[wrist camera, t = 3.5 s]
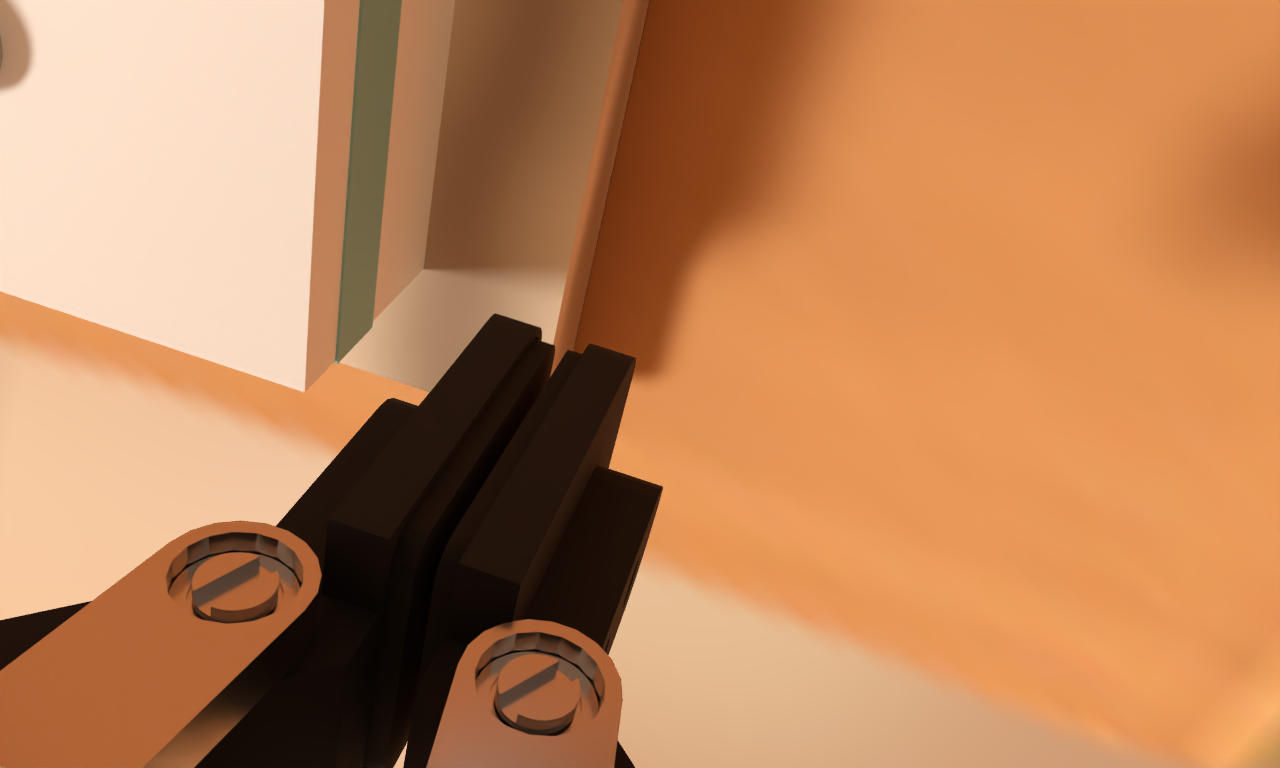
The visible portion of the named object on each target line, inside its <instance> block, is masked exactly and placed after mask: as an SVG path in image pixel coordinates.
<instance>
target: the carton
mask: <svg viewBox="0 0 1280 768" xmlns="http://www.w3.org/2000/svg"><path fill="white" fill-rule="evenodd" d="M454 5H455V0H0V291H1V292H4V293H7V294H10V295H13V296H16V297H19V298H22V299H25V300H28V301H31V302H34V303H37V304H40V305H43V306H46V307H49V308H52V309H55V310H58V311H61V312H64V313H67V314H70V315H73V316H76V317H79V318H82V319H85V320H88V321H91V322H94V323H97V324H100V325H103V326H106V327H109V328H112V329H115V330H118V331H121V332H124V333H127V334H130V335H133V336H136V337H139V338H142V339H145V340H148V341H151V342H154V343H157V344H160V345H163V346H166V347H169V348H173V349H176V350H179V351H182V352H185V353H188V354H191V355H194V356H197V357H200V358H203V359H206V360H209V361H212V362H215V363H218V364H221V365H224V366H227V367H230V368H233V369H236V370H239V371H242V372H245V373H248V374H251V375H254V376H257V377H260V378H263V379H266V380H269V381H272V382H275V383H278V384H281V385H284V386H287V387H290V388H293V389H296V390H299V391H302V392H305V391H306V390H307V389H308V388H309V387H310V386H311V385H312V384H313V383H314V382H315V381H316V380H317V379H318V378H319V377H320V376H321V375H322V374H323V373H324V372H325V371H326V370H327V369H328V368H329V366H330V365H331V364H332V363H333V362H334V363H337V364H338V363H339V362H340V361H341V360H342V359H343V358H344V357H345V356H346V354H347V353H348V352H349V351H350V350H351V349H352V348H353V347H354V346H355V345H356V344H357V343H358V342H359V341H360V340H361V339H362V338H363V337H364V336H365V335H366V334H367V333H368V331H369V330H370V329H371V328H372V326H373V321H374V320H375V319H376V318H377V317H378V316H379V315H380V314H381V313H382V312H383V311H384V310H385V308H386V307H387V306H388V305H389V304H390V303H391V302H392V301H393V300H394V299H395V298H396V297H397V296H398V295H399V294H400V293H401V292H402V291H403V290H404V289H405V288H406V287H407V286H408V285H409V284H410V283H411V282H412V280H413V279H414V278H415V277H416V276H417V275H418V274H419V273H420V272H421V271H422V270H423V269H424V260H425V252H426V243H427V235H428V226H429V218H430V209H431V201H432V192H433V184H434V175H435V167H436V158H437V150H438V141H439V133H440V124H441V116H442V107H443V99H444V90H445V82H446V73H447V65H448V56H449V48H450V39H451V31H452V22H453V14H454Z"/></svg>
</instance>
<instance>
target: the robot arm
mask: <svg viewBox="0 0 1280 768" xmlns="http://www.w3.org/2000/svg"><path fill="white" fill-rule="evenodd" d="M541 340H542V329H541V328H540V327H537V326H534V325H531V324H528V323H525V322H522V321H518V320H515V319H512V318H509V317H506V316H503V315H500V314H493V315H492V316H491V317H490V318H489V319H488V321H487V322H486V323H485V324H484V326H483V327H482V328H481V329H480V331H479V332H478V333H477V334H476V336H475V337H474V338H473V339H472V341H471V342H470V343H469V344H468V346H467V347H466V348H465V349H464V351H463V352H462V353H461V354H460V355H459V357H458V358H457V359H456V360H455V362H454V363H453V364H452V365H451V367H450V368H449V369H448V370H447V372H446V373H445V374H444V375H443V377H442V378H441V379H440V380H439V382H438V383H437V384H436V385H435V387H434V388H433V389H432V390H431V392H430V393H429V394H428V395H427V396H426V398H425V399H424V400H423V401H422V403H421V404H420V405H419V406H416V405H413V404H410V403H407V402H404V401H401V400H398V399H395V398H391V399H387V400H386V401H385V402H384V403H383V404H382V405H381V406H380V407H379V408H378V409H377V410H376V411H375V412H374V414H373V415H372V416H371V417H370V418H369V419H368V421H367V422H366V423H365V424H364V425H363V426H362V427H361V429H360V430H359V431H358V432H357V433H356V434H355V436H354V437H353V438H352V439H351V440H350V441H349V442H348V444H347V445H346V446H345V447H344V448H343V449H342V451H341V452H340V453H339V454H338V455H337V456H336V457H335V459H334V460H333V461H332V462H331V463H330V464H329V466H328V467H327V468H326V469H325V470H324V471H323V472H322V474H321V475H320V476H319V477H318V478H317V479H316V481H315V482H314V483H313V484H312V485H311V486H310V487H309V489H308V490H307V491H306V492H305V493H304V494H303V496H302V497H301V498H300V499H299V500H298V501H297V502H296V504H295V505H294V506H293V507H292V508H291V509H290V511H289V512H288V513H287V514H286V515H285V516H284V518H283V519H282V520H281V521H280V522H279V523H278V524H277V526H276V527H275V526H272V525H269V524H265V523H257V522H248V521H232V522H222V523H214V524H211V525H207V526H204V527H200V528H197V529H194V530H190V531H189V532H187V533H185V534H183V535H182V536H180V537H178V538H176V539H175V540H173V541H171V542H169V543H168V544H167V545H165V546H164V547H163V548H161V549H160V550H159V551H158V552H156V553H155V554H154V555H152V556H151V557H150V558H148V559H147V560H146V561H144V562H143V563H142V564H140V565H139V566H138V567H136V568H135V569H134V570H133V571H131V572H130V573H128V574H127V575H126V576H125V577H123V578H122V579H121V580H119V581H118V582H117V583H116V584H114V585H113V586H111V587H110V588H109V589H107V590H106V591H105V592H103V593H102V594H101V595H100V596H98V597H97V598H96V599H94V600H93V601H90V602H85V603H81V604H76V605H71V606H66V607H61V608H57V609H52V610H47V611H42V612H38V613H33V614H29V615H24V616H19V617H14V618H10V619H5V620H0V768H393V767H394V765H395V764H396V762H397V760H398V758H399V756H400V754H401V752H402V751H403V749H404V747H405V745H406V743H407V741H408V743H407V749H406V755H405V761H404V768H635V767H634V765H633V764H632V762H631V760H630V759H629V757H628V756H627V754H626V753H625V751H624V749H623V748H622V746H621V745H620V743H619V742H618V731H619V724H620V716H621V707H622V685H621V678H620V676H619V674H618V672H617V669H616V668H615V665H614V663H613V661H612V659H611V658H610V657H609V656H608V655H609V652H610V649H611V646H612V644H613V641H614V638H615V635H616V633H617V629H618V627H619V624H620V622H621V619H622V616H623V613H624V611H625V608H626V605H627V602H628V599H629V596H630V593H631V590H632V587H633V584H634V581H635V578H636V575H637V572H638V569H639V566H640V563H641V560H642V557H643V554H644V551H645V547H646V544H647V541H648V538H649V534H650V531H651V528H652V524H653V521H654V518H655V514H656V511H657V508H658V504H659V501H660V497H661V493H662V490H663V487H662V486H659V485H656V484H653V483H650V482H647V481H644V480H641V479H638V478H635V477H632V476H629V475H626V474H623V473H620V472H617V471H614V470H611V469H608V468H609V464H610V460H611V457H612V453H613V449H614V445H615V441H616V438H617V434H618V430H619V426H620V422H621V418H622V415H623V411H624V407H625V403H626V399H627V396H628V392H629V388H630V384H631V380H632V376H633V372H634V368H635V363H636V358H634V357H631V356H628V355H625V354H622V353H618V352H615V351H612V350H609V349H606V348H603V347H600V346H597V345H593V344H589V345H588V346H587V348H586V349H585V351H584V353H583V354H580V353H577V352H574V351H571V350H567V352H566V353H565V354H564V356H563V358H562V359H561V361H560V362H559V364H558V366H557V367H556V369H555V370H554V372H553V374H552V375H551V371H552V366H553V361H554V356H555V345H552V344H549V343H546V342H543V341H541ZM550 375H551V377H550Z"/></svg>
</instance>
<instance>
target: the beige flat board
mask: <svg viewBox="0 0 1280 768" xmlns="http://www.w3.org/2000/svg"><path fill="white" fill-rule="evenodd" d="M648 5H649V0H455V5H454V14H453V22H452V31H451V39H450V48H449V56H448V65H447V73H446V82H445V90H444V99H443V107H442V116H441V124H440V133H439V141H438V150H437V158H436V167H435V175H434V184H433V192H432V201H431V209H430V218H429V226H428V235H427V243H426V252H425V260H424V269H423V270H422V271H421V272H420V273H419V274H418V275H417V276H416V277H415V278H414V279H413V280H412V282H411V283H410V284H409V285H408V286H407V287H406V288H405V289H404V290H403V291H402V292H401V293H400V294H399V295H398V296H397V297H396V298H395V299H394V300H393V301H392V302H391V303H390V304H389V305H388V306H387V307H386V308H385V310H384V311H383V312H382V313H381V314H380V315H379V316H378V317H377V318H376V319H375V320H374V321H373V326H372V328H371V329H370V330H369V331H368V333H367V334H366V335H365V336H364V337H363V338H362V339H361V340H360V341H359V342H358V343H357V344H356V345H355V346H354V347H353V348H352V349H351V350H350V351H349V352H348V353H347V354H346V356H345V357H344V358H343V359H342V360H341V361H340V363H343V364H346V365H349V366H352V367H355V368H358V369H361V370H364V371H367V372H370V373H373V374H376V375H379V376H382V377H385V378H388V379H391V380H394V381H397V382H400V383H403V384H406V385H410V386H413V387H416V388H419V389H422V390H425V391H428V392H431V390H432V389H433V388H434V387H435V385H436V384H437V383H438V382H439V380H440V379H441V378H442V377H443V375H444V374H445V373H446V372H447V370H448V369H449V368H450V367H451V365H452V364H453V363H454V362H455V360H456V359H457V358H458V357H459V355H460V354H461V353H462V352H463V351H464V349H465V348H466V347H467V346H468V344H469V343H470V342H471V341H472V339H473V338H474V337H475V336H476V334H477V333H478V332H479V331H480V329H481V328H482V327H483V326H484V324H485V323H486V322H487V321H488V319H489V318H490V317H491V316H492V315H493V314H500V315H503V316H506V317H509V318H512V319H515V320H518V321H522V322H525V323H528V324H531V325H534V326H537V327H540V328H541V329H542V340H541V341H543V342H546V343H549V344H552V345H555V356H554V361H553V366H552V371H551V375H552V374H553V372H554V370H555V369H556V367H557V366H558V364H559V362H560V361H561V359H562V358H563V356H564V354H565V353H566V352H567V350H571V351H573V350H574V346H575V341H576V337H577V332H578V327H579V323H580V318H581V314H582V309H583V304H584V300H585V295H586V291H587V286H588V281H589V277H590V272H591V268H592V263H593V258H594V254H595V249H596V244H597V240H598V235H599V231H600V226H601V221H602V217H603V212H604V208H605V203H606V198H607V194H608V189H609V185H610V180H611V175H612V171H613V166H614V162H615V157H616V152H617V148H618V143H619V139H620V134H621V129H622V125H623V120H624V116H625V111H626V106H627V102H628V97H629V92H630V88H631V83H632V79H633V74H634V69H635V65H636V60H637V56H638V51H639V46H640V42H641V37H642V33H643V28H644V23H645V19H646V14H647V10H648ZM551 375H550V377H551Z"/></svg>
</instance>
